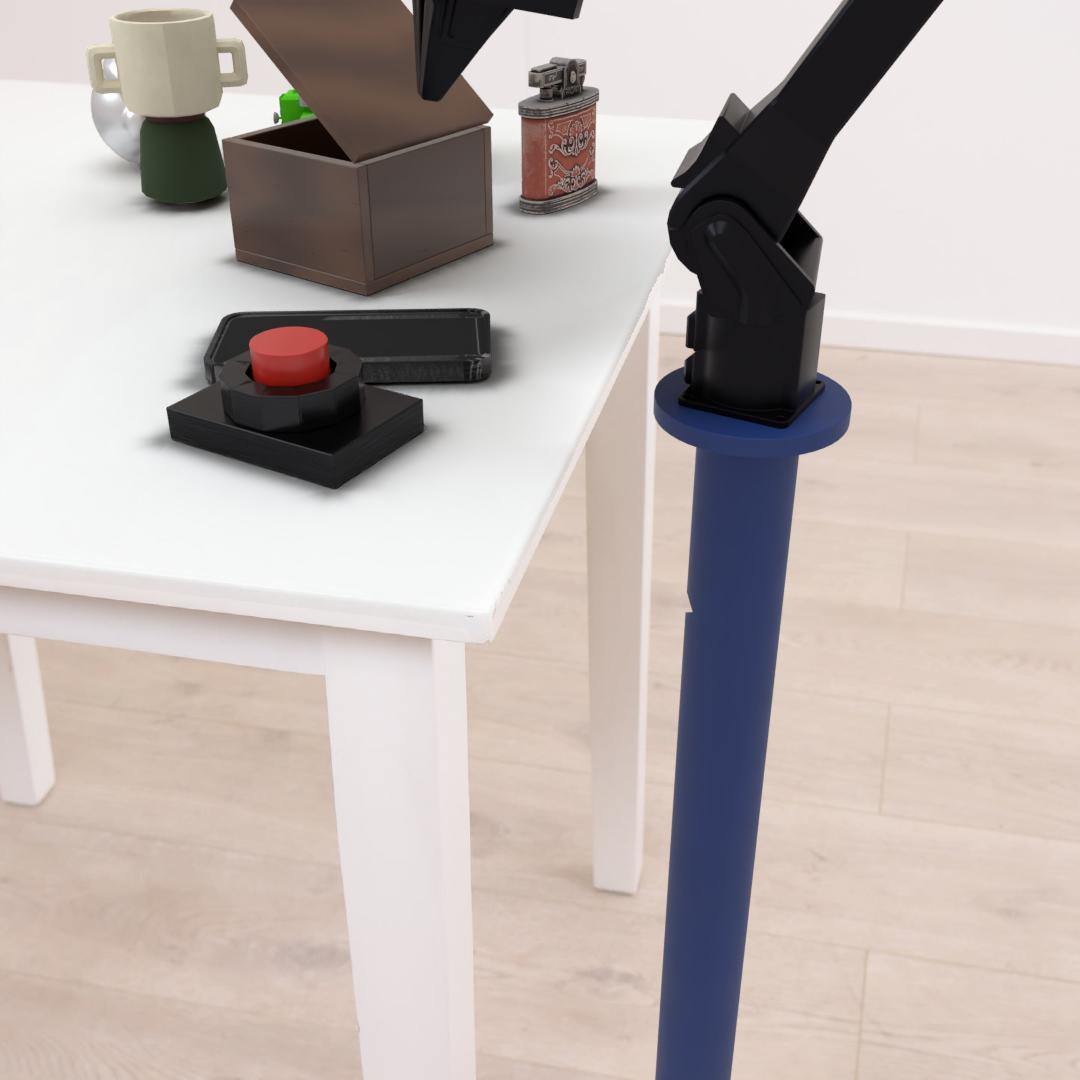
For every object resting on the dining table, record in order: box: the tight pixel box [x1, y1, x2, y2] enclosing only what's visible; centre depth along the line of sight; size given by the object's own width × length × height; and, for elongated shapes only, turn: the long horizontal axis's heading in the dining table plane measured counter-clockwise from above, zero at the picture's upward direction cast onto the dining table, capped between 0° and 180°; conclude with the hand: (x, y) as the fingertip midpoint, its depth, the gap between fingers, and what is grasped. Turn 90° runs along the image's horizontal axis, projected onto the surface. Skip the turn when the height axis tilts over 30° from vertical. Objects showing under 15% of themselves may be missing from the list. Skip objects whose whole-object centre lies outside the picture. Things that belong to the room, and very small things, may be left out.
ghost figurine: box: [90, 58, 207, 166], centre depth 104 cm, size 9×10×10 cm
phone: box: [203, 307, 492, 385], centre depth 71 cm, size 8×1×15 cm
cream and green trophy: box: [85, 7, 249, 205], centre depth 94 cm, size 11×7×13 cm, turn 105°
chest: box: [221, 115, 494, 297], centre depth 85 cm, size 12×13×8 cm
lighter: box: [517, 56, 600, 215], centre depth 95 cm, size 8×3×10 cm, turn 145°
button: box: [249, 327, 331, 386], centre depth 61 cm, size 4×4×2 cm
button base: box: [165, 344, 425, 489], centre depth 62 cm, size 10×7×4 cm
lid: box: [229, 0, 494, 164], centre depth 80 cm, size 12×13×1 cm
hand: (428, 98), depth 69 cm, fingers closed
